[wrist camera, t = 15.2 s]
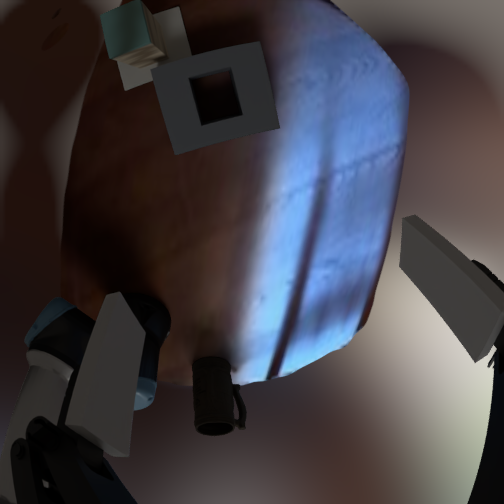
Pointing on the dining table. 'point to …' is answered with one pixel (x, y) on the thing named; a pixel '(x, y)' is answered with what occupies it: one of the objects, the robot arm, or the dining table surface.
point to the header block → (245, 88)
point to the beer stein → (216, 398)
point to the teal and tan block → (134, 35)
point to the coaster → (174, 44)
